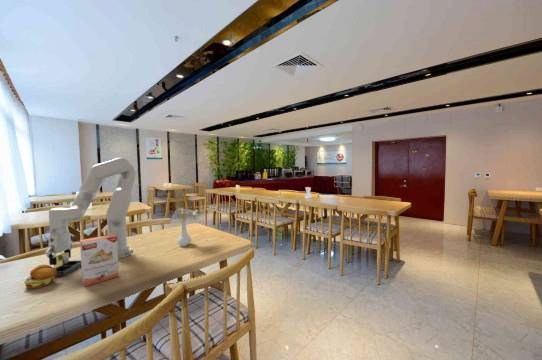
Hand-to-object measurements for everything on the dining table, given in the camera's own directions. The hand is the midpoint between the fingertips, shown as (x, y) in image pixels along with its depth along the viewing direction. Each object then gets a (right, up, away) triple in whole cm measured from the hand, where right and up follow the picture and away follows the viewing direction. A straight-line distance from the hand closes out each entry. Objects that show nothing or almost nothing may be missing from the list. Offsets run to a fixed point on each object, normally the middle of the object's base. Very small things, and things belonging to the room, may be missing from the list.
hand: (60, 261), depth 132 cm
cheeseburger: (+8, -5, -19) cm, 21 cm away
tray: (+8, -3, -5) cm, 10 cm away
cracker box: (+33, -4, -16) cm, 37 cm away
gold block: (0, -3, 0) cm, 3 cm away
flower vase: (+56, 0, +34) cm, 66 cm away
